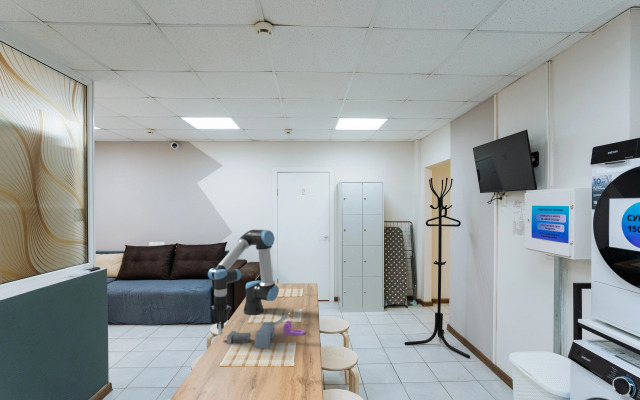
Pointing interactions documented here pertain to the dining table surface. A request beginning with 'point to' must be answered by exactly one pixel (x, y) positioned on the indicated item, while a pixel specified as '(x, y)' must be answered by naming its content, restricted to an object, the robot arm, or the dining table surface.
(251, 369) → the dining table surface
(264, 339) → the hitch block
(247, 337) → the gray block
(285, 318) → the latch bar
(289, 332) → the bracket
